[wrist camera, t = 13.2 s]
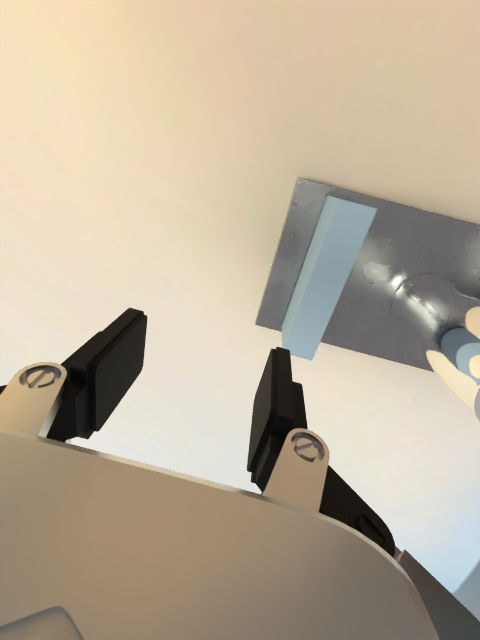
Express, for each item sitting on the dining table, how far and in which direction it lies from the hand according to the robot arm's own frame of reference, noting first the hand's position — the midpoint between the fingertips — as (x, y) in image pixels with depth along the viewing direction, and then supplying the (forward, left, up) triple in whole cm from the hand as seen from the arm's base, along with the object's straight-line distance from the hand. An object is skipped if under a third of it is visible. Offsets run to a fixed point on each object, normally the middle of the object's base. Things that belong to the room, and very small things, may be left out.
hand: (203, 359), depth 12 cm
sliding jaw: (+8, 0, -20) cm, 21 cm away
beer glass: (+19, 0, -20) cm, 28 cm away
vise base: (+16, 0, -21) cm, 27 cm away
